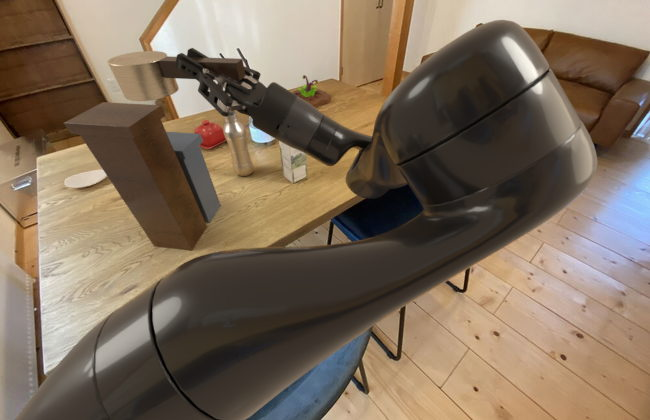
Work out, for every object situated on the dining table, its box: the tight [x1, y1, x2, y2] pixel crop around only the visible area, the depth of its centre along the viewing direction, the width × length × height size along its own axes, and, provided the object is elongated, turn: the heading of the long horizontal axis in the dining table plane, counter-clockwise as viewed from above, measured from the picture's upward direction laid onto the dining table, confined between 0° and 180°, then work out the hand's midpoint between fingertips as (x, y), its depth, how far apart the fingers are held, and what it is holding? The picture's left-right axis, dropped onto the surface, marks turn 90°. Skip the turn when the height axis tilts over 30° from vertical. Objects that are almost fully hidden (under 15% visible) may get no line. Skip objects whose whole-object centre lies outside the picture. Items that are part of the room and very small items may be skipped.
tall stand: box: [63, 101, 208, 251], centre depth 59 cm, size 9×12×32 cm
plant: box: [291, 74, 332, 109], centre depth 132 cm, size 20×20×11 cm
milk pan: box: [107, 50, 246, 102], centre depth 42 cm, size 8×20×5 cm, turn 82°
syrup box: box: [278, 140, 308, 184], centre depth 83 cm, size 6×6×14 cm
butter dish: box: [194, 119, 227, 150], centre depth 103 cm, size 12×12×8 cm
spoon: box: [63, 168, 108, 189], centre depth 90 cm, size 9×32×4 cm, turn 122°
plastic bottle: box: [222, 110, 255, 177], centre depth 83 cm, size 6×7×20 cm
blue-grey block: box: [166, 131, 221, 224], centre depth 69 cm, size 8×12×22 cm, turn 82°
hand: (183, 57), depth 40 cm, fingers closed on milk pan, 2 cm apart
